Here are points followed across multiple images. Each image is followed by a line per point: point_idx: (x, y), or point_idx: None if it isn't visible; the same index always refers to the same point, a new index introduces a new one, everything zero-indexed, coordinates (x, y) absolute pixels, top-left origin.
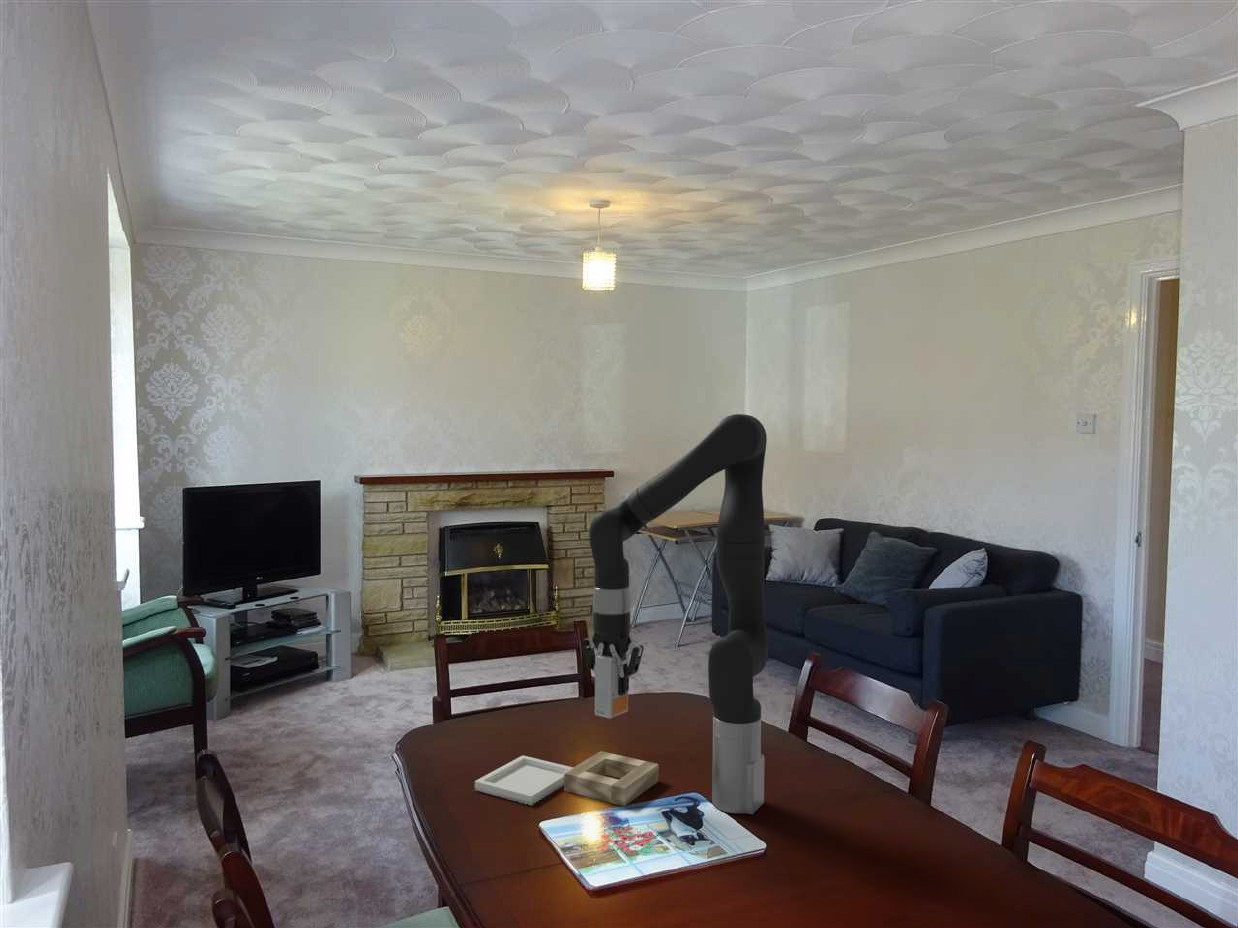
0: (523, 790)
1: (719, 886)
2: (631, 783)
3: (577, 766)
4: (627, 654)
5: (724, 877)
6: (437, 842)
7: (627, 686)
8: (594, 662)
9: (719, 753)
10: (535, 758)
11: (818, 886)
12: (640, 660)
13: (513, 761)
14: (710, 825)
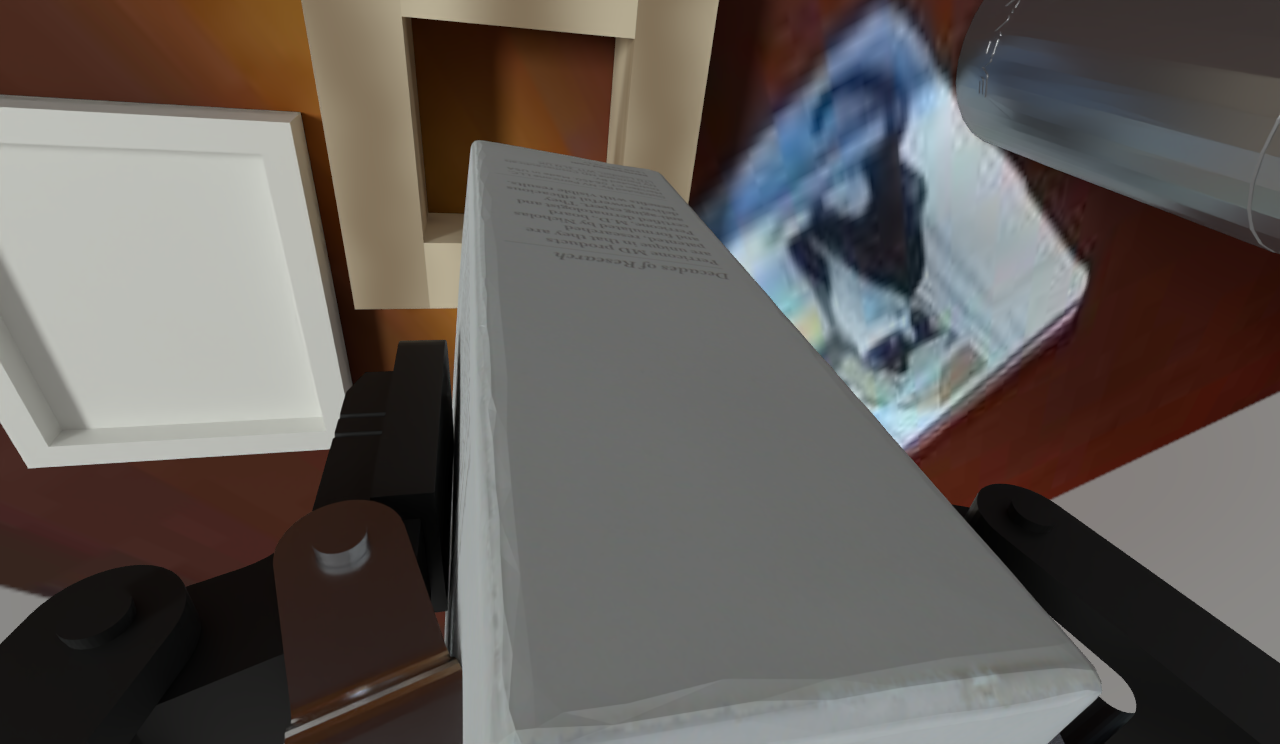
0: (243, 378)
1: (964, 476)
2: None
3: (347, 207)
4: (1075, 706)
5: (975, 448)
6: None
7: None
8: (188, 723)
9: (1170, 210)
10: None
11: (1153, 385)
12: (1274, 665)
13: None
14: (946, 255)
